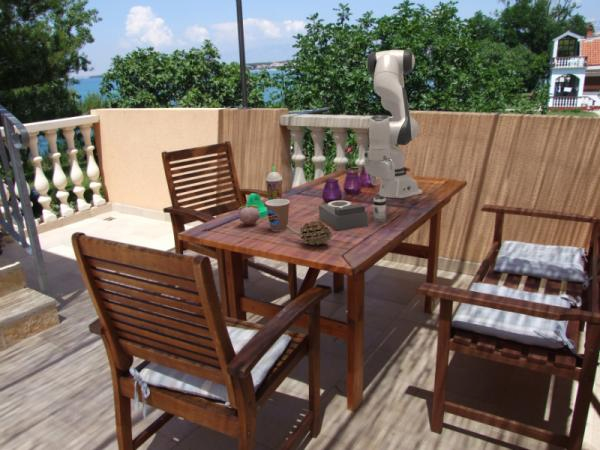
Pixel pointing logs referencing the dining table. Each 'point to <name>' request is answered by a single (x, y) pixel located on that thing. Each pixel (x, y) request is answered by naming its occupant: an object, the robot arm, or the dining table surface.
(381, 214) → the lens
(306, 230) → the pine cone
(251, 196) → the camera mount
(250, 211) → the decorative fruit
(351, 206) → the camera body
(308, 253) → the dining table surface
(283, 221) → the coffee cup
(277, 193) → the smoothie
